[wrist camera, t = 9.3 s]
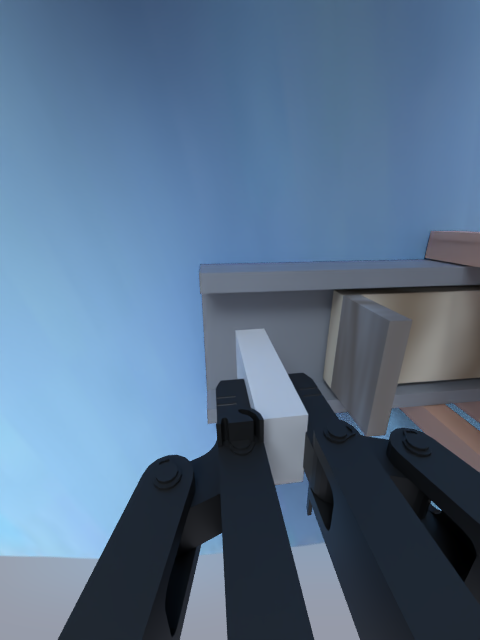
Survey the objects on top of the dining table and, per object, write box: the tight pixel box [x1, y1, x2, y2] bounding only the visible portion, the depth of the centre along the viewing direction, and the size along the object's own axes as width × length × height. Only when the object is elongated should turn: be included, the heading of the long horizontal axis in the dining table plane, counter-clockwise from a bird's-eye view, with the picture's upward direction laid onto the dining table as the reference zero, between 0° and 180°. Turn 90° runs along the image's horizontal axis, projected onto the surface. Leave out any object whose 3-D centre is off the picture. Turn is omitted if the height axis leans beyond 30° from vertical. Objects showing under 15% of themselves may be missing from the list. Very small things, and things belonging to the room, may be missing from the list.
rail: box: [199, 259, 480, 424], centre depth 17 cm, size 29×9×3 cm, turn 91°
